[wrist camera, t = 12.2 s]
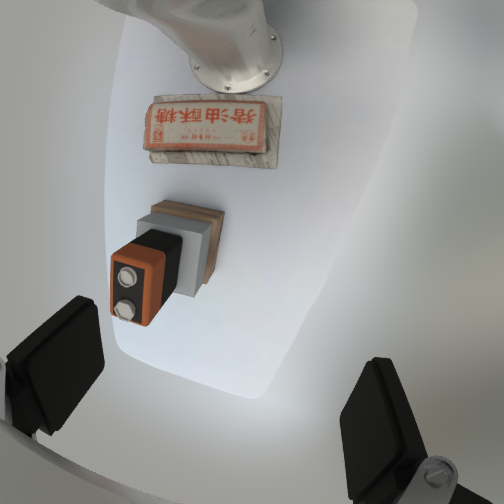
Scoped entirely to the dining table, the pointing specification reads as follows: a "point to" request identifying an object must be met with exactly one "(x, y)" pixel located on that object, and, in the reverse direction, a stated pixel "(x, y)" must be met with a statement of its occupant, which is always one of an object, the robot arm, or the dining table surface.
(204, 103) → the packaged product
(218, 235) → the bottom block
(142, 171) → the dining table surface
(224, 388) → the dining table surface
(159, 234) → the battery
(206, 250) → the top block
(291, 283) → the dining table surface
